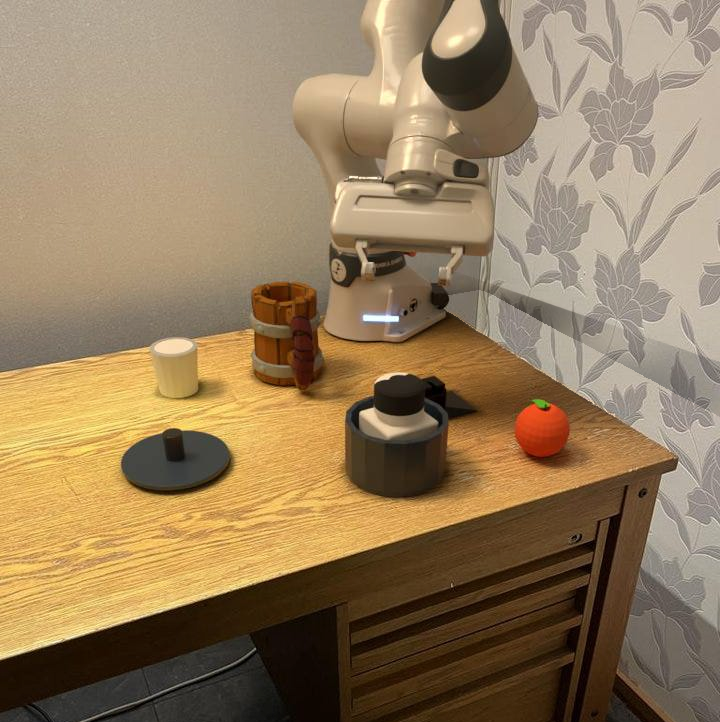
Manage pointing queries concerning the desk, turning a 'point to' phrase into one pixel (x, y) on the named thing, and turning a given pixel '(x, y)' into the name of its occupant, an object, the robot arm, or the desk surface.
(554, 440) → the clementine
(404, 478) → the enamel pot
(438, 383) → the black wedge
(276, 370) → the mug
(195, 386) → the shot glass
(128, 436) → the desk surface
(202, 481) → the pot lid
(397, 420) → the medicine bottle
